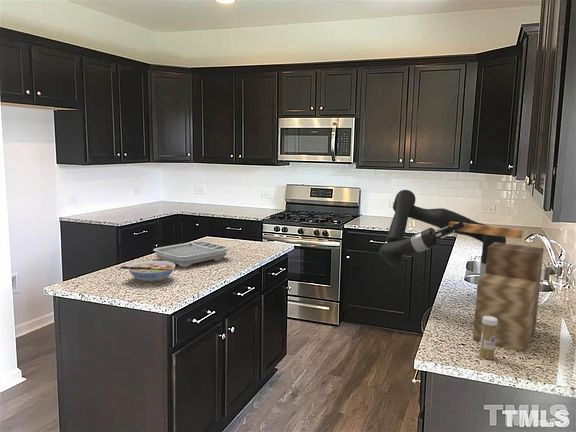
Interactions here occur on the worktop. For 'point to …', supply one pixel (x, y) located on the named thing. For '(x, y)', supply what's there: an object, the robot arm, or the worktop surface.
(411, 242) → the robot arm
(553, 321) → the worktop surface
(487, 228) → the dowel
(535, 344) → the worktop surface
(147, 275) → the ramen bowl
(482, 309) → the box
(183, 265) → the dish rack
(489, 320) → the sprinkles bottle
